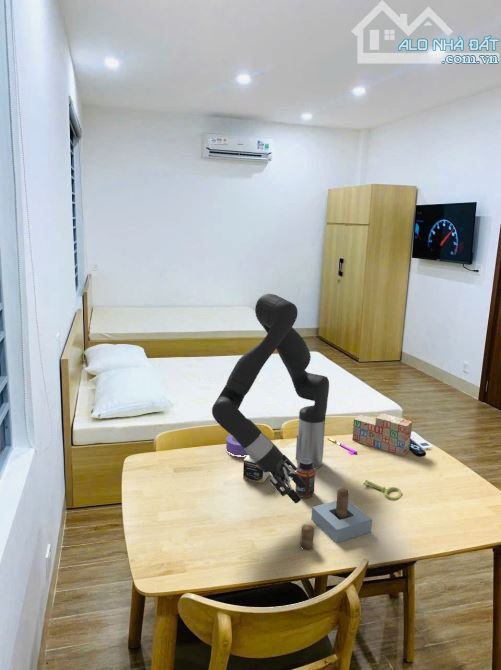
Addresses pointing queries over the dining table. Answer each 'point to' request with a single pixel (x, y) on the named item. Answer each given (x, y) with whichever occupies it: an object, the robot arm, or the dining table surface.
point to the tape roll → (234, 446)
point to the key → (384, 490)
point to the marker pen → (344, 447)
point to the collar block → (341, 521)
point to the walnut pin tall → (342, 503)
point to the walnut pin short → (307, 537)
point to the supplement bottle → (306, 478)
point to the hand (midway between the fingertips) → (300, 493)
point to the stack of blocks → (383, 433)
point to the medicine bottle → (253, 471)
